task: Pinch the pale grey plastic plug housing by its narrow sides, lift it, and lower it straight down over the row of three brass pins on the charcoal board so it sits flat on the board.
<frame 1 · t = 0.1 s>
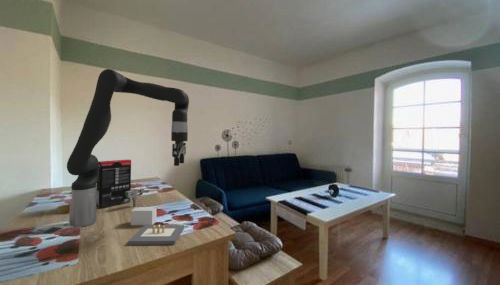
hand: (179, 164, 100), 29 cm above the table, tool pointing down, fingers open, 8 cm apart
mechanical component: (134, 207, 121), on the table
plug housing: (144, 223, 99), on the table
brass pins: (158, 229, 87), on the header board, point 2 cm above the table
header board: (158, 235, 87), on the table
sunglasses: (74, 209, 117), on the table
graphics card box: (114, 204, 125), on the table
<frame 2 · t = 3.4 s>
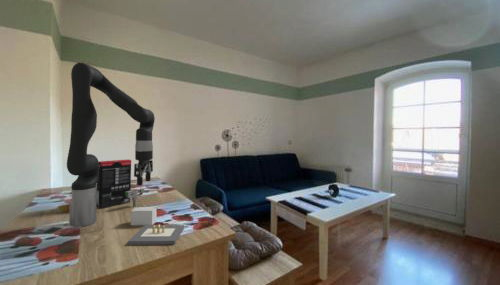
hand: (144, 183, 99), 20 cm above the table, tool pointing down, fingers open, 8 cm apart
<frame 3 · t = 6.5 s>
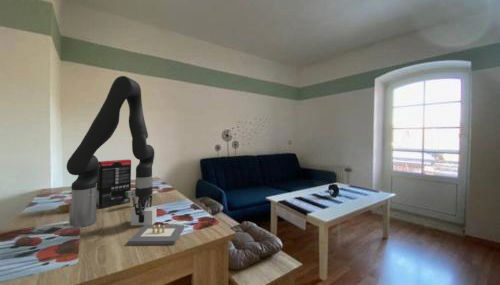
hand: (143, 219, 99), 2 cm above the table, tool pointing down, fingers closed on plug housing, 5 cm apart
plug housing: (144, 223, 99), on the table, touching gripper
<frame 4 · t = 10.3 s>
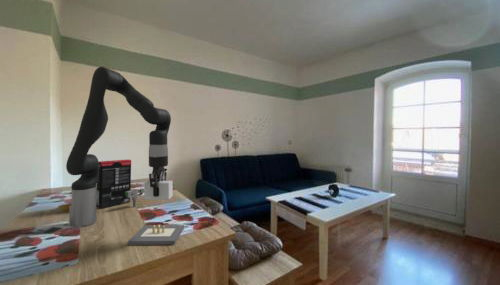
hand: (158, 194, 87), 18 cm above the table, tool pointing down, fingers closed on plug housing, 5 cm apart
plug housing: (158, 197, 87), point 16 cm above the table, touching gripper
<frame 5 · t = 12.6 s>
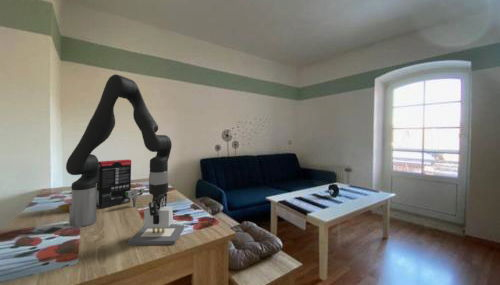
hand: (158, 221, 87), 7 cm above the table, tool pointing down, fingers closed on plug housing, 5 cm apart
plug housing: (158, 224, 87), point 5 cm above the table, touching gripper
when the fingers open (4 cm above the table, at t = 14.4 s): plug housing stays where it is, resting on header board.
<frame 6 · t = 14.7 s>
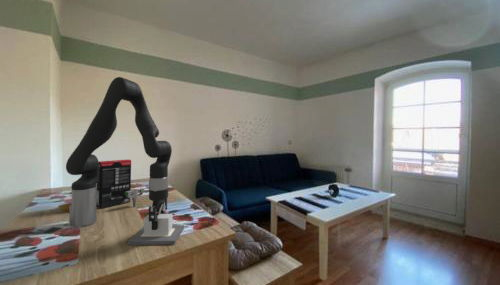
hand: (158, 225, 87), 5 cm above the table, tool pointing down, fingers open, 7 cm apart
plug housing: (158, 232, 87), point 2 cm above the table, touching header board
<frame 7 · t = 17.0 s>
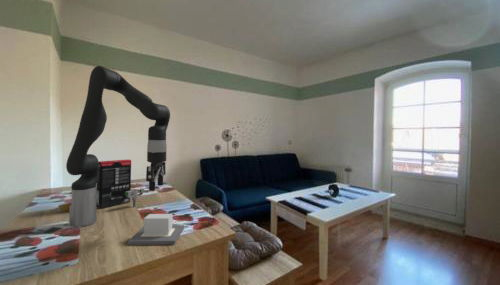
hand: (156, 188, 88), 20 cm above the table, tool pointing down, fingers open, 8 cm apart
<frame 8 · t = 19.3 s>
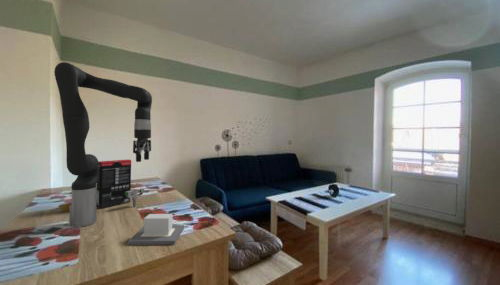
hand: (142, 160, 103), 30 cm above the table, tool pointing down, fingers open, 8 cm apart
at the end: plug housing 0.1 cm off-centre on the brass pins, point 1.6 cm above the brass pins's base; plug housing tilted 0°; the gripper is holding nothing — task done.
